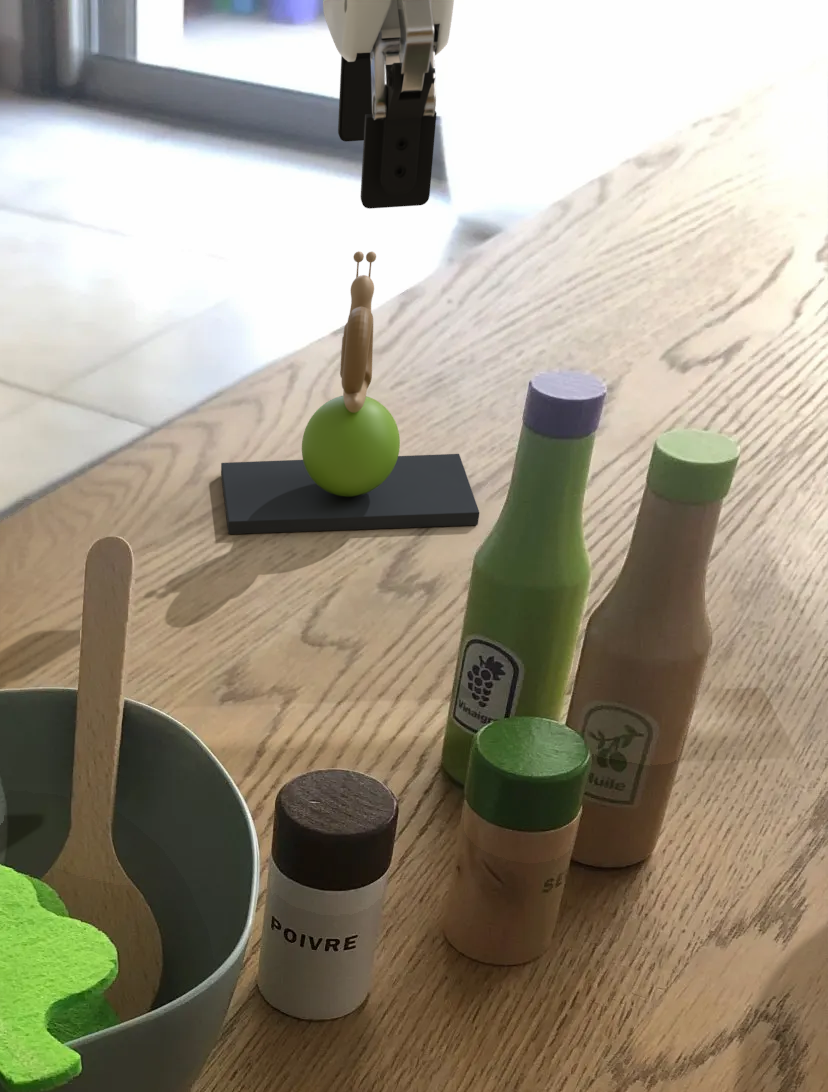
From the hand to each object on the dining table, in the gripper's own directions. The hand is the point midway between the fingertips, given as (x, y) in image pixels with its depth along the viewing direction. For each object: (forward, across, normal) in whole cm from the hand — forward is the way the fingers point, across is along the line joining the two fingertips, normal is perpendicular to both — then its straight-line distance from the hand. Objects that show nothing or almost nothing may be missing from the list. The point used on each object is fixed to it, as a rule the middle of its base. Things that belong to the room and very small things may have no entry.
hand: (381, 170), depth 81 cm
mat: (+18, 0, -1) cm, 18 cm away
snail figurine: (+17, 0, -1) cm, 17 cm away
